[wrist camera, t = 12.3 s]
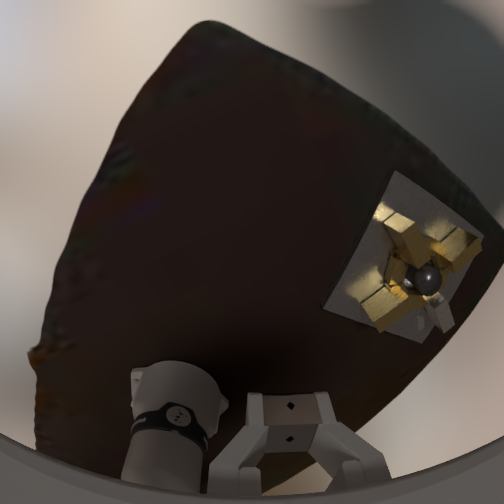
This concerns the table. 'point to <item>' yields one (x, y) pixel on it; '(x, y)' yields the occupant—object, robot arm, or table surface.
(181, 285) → the table surface
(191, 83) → the table surface
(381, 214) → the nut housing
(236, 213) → the table surface
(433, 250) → the gold propeller
